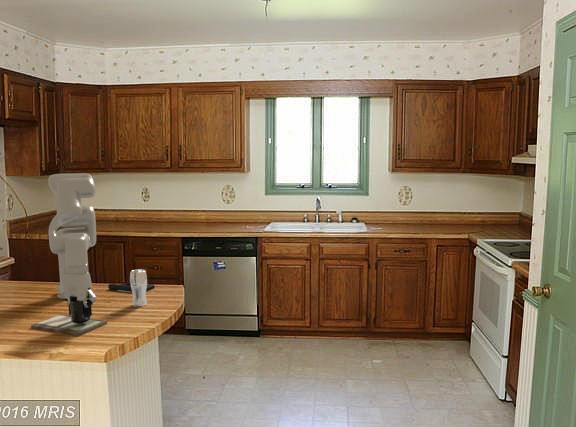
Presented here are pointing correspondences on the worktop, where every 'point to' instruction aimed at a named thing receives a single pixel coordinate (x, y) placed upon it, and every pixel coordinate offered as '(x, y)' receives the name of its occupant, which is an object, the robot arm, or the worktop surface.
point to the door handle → (126, 287)
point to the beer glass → (138, 287)
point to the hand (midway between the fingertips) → (80, 315)
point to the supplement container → (77, 311)
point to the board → (68, 325)
